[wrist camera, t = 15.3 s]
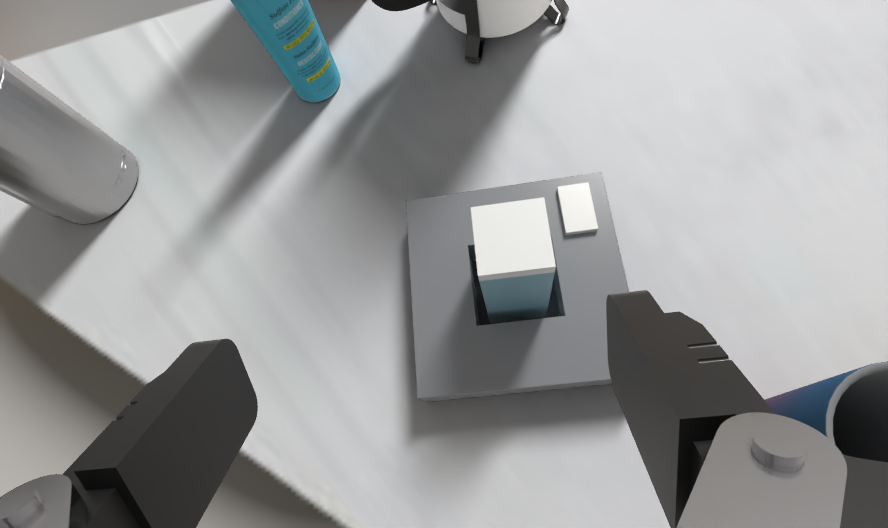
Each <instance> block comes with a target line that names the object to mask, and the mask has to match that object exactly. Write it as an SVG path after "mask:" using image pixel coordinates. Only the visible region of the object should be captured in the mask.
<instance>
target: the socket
mask: <svg viewBox="0 0 888 528" xmlns="http://www.w3.org/2000/svg"><path fill="white" fill-rule="evenodd" d="M542 197H544V199H545V205H546V211H547V217H548V223H549V229H550V235H551V241H552V246H553V252H554V258H555V264H556V268H555V274H554V284H555V290H556V296H557V302H558V308H559V313H560V316H558V317H550V318H541V319H532V320H523V321H515V322H506V323H497V324H488V325H480V326H479V320H478V311H477V302H476V293H475V284H474V274H473V265H472V261H474V260H476V254H475V244H474V235H473V226H472V216H471V207H476V206H483V205H491V204H498V203H505V202H513V201H520V200H527V199H535V198H542ZM406 213H407V230H408V247H409V264H410V281H411V297H412V314H413V331H414V348H415V365H416V382H417V398H418V399H421V400H423V401H425V402H431V401H442V400H452V399H462V398H472V397H482V396H493V395H503V394H513V393H523V392H534V391H544V390H554V389H564V388H574V387H585V386H595V385H605V384H612V382H611V378H610V373H609V366H608V351H607V319H606V300H607V296H608V295H610V294H618V293H627V292H629V289H628V285H627V281H626V276H625V272H624V267H623V263H622V259H621V254H620V250H619V245H618V241H617V236H616V232H615V228H614V223H613V219H612V214H611V210H610V206H609V201H608V197H607V192H606V188H605V184H604V179H603V175H602V172H599V173H592V174H585V175H578V176H571V177H564V178H558V179H551V180H544V181H537V182H530V183H523V184H516V185H509V186H502V187H495V188H489V189H482V190H475V191H468V192H461V193H454V194H447V195H440V196H433V197H427V198H420V199H413V200H406Z"/></svg>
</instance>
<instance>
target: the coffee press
mask: <svg viewBox="0 0 888 528" xmlns="http://www.w3.org/2000/svg"><path fill="white" fill-rule="evenodd" d="M372 1H373V2H374V3H375V4H376V5H377V6H379V7H380V8H383V9H385V10H389V11H402V10H407V9H410V8H413V7H416V6H419V5H421V4H423V3H426V2H428V1H430V2H431V3H433V4H437V6H438V8H439V10H440V12H441V14H442V16H443V17H444V18H445V20H446V21H447V22H448V23H449V24H450V25H451V26H453V27H454V28H456V29H457V30H459V31H461V32H463V33H465V34H467V41H466V51H465V60H466V61H471V62H477V63H479V62H480V61H481V58H482V54H483V48H484V43H485V39H486V38H494V37H502V36H506V35H510V34H513V33H516V32H518V31H521V30H523V29H525V28H526V27H528V26H530V25H531V24H533V23H534V22H535V21H536V20H537V19H539V18H540V17H541V16H542V14H544V15H545V16H546V17H547V18H548V19H549V20H550V21H551V22H552V23H554V24H557V25H560V24H563V23H564V21H565V19H566V16H567V14H568V11H569V7H568V5H567V4H566V2H565V1H564V0H554V2H555V5H556V6H557V8H558V10H559V11H560V13H561V14H560V13H558V12H556V11H555V10H554V8H553V7H552V6H551V5H550V3H551V1H552V0H372Z"/></svg>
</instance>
